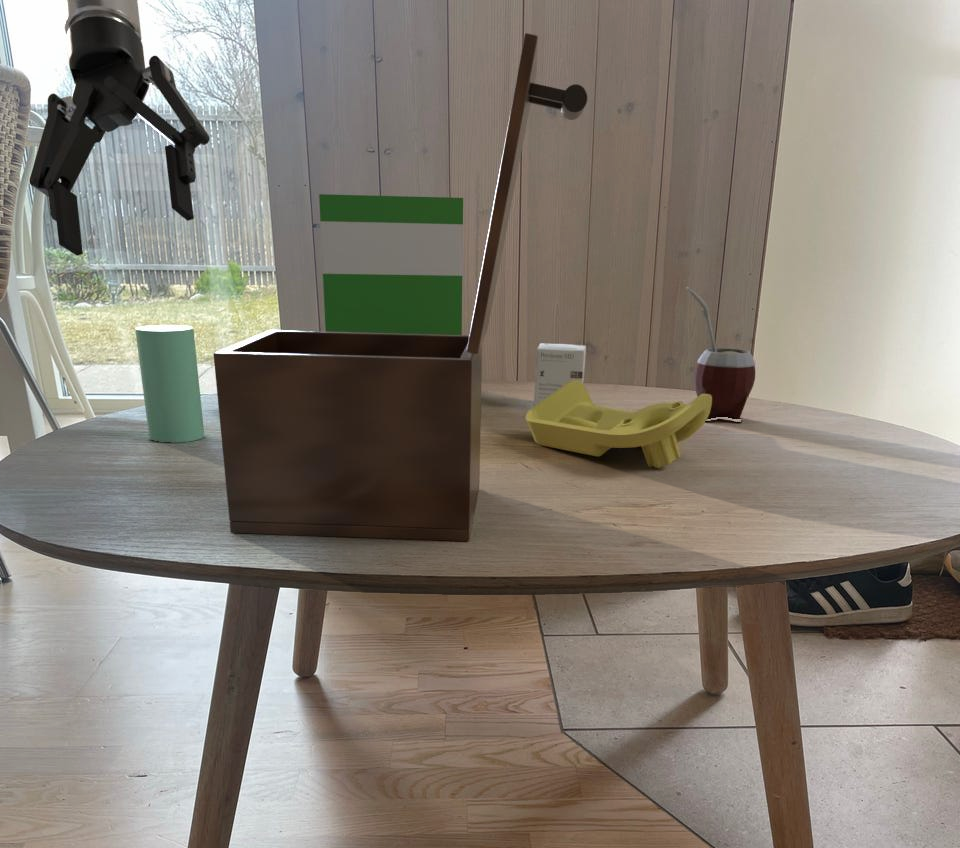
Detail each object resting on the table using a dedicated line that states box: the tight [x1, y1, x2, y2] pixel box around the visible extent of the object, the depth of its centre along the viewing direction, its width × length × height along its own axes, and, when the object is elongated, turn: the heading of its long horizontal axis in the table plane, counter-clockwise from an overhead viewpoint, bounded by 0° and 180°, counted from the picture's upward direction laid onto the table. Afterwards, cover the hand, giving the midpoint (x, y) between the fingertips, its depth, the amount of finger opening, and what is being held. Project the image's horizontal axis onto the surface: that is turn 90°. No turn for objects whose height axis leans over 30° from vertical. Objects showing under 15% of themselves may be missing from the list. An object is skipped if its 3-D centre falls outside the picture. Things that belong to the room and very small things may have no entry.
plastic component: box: [525, 380, 712, 469], centre depth 93 cm, size 20×7×10 cm
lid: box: [467, 32, 588, 354], centre depth 65 cm, size 19×15×5 cm
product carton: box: [533, 342, 587, 407], centre depth 117 cm, size 6×6×7 cm
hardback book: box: [318, 193, 464, 335], centre depth 122 cm, size 18×7×24 cm, turn 97°
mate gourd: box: [685, 286, 756, 419], centre depth 110 cm, size 8×8×15 cm
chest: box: [213, 329, 483, 542], centre depth 72 cm, size 18×15×13 cm
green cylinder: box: [134, 324, 205, 444], centre depth 95 cm, size 6×6×11 cm
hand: (126, 232), depth 95 cm, fingers open, 13 cm apart
